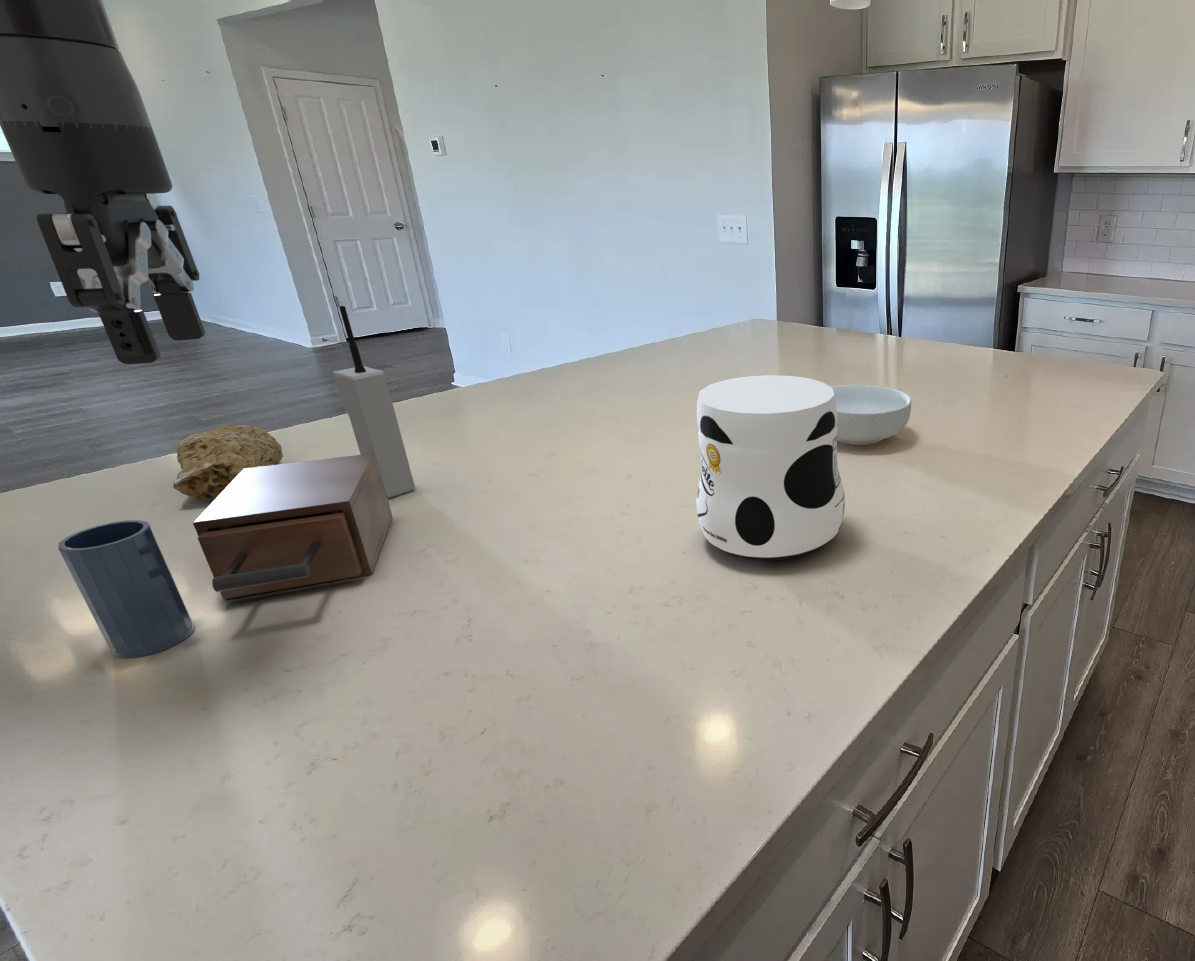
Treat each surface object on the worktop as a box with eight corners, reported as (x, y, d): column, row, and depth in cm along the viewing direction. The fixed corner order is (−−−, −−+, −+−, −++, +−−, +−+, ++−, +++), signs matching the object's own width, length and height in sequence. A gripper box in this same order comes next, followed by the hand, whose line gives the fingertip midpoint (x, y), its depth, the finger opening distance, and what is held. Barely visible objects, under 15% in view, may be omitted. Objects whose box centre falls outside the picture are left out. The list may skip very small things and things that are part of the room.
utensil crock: (99, 664, 61) (42, 555, 57) (129, 629, 66) (78, 526, 62) (180, 649, 64) (131, 542, 59) (204, 616, 68) (160, 515, 64)
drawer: (348, 606, 68) (327, 544, 66) (198, 633, 64) (169, 568, 61) (381, 521, 85) (366, 469, 82) (264, 539, 81) (244, 484, 78)
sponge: (283, 503, 94) (304, 430, 109) (247, 457, 89) (275, 387, 104) (167, 536, 91) (206, 456, 105) (123, 489, 86) (170, 412, 100)
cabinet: (372, 574, 76) (349, 501, 72) (224, 600, 71) (192, 522, 67) (393, 517, 88) (374, 452, 84) (268, 536, 83) (243, 468, 80)
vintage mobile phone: (396, 482, 98) (345, 301, 88) (416, 489, 96) (366, 304, 86) (367, 491, 95) (312, 305, 85) (387, 499, 93) (332, 309, 83)
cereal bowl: (904, 459, 108) (906, 415, 105) (799, 452, 110) (798, 409, 107) (913, 424, 123) (915, 385, 120) (821, 418, 125) (821, 380, 123)
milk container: (674, 532, 85) (658, 389, 78) (790, 494, 95) (786, 365, 88) (750, 591, 73) (740, 429, 66) (874, 542, 83) (877, 396, 76)
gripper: (63, 124, 53) (147, 336, 60) (-73, 110, 41) (51, 376, 48) (187, 127, 56) (255, 329, 63) (94, 115, 44) (189, 367, 51)
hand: (166, 350), depth 55 cm, fingers open, 8 cm apart
